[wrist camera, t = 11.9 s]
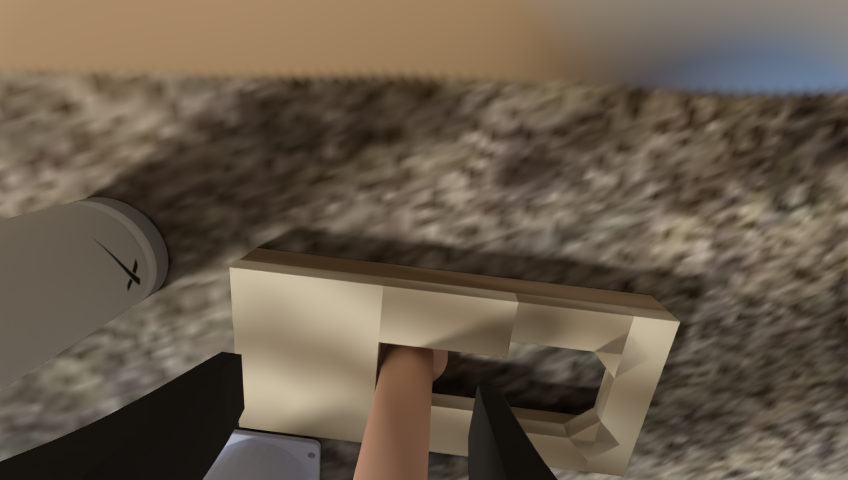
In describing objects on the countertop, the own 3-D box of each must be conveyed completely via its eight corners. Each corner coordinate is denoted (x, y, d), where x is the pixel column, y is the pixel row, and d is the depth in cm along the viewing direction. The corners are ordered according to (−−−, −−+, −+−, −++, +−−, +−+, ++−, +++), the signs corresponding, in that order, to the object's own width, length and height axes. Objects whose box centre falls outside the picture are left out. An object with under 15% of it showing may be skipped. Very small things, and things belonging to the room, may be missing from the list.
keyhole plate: (604, 436, 25) (623, 476, 22) (261, 393, 25) (239, 426, 22) (651, 295, 21) (680, 321, 19) (256, 247, 22) (229, 267, 19)
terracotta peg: (443, 380, 24) (440, 558, 14) (372, 372, 24) (324, 543, 15) (452, 317, 22) (455, 470, 13) (376, 309, 23) (325, 453, 13)
